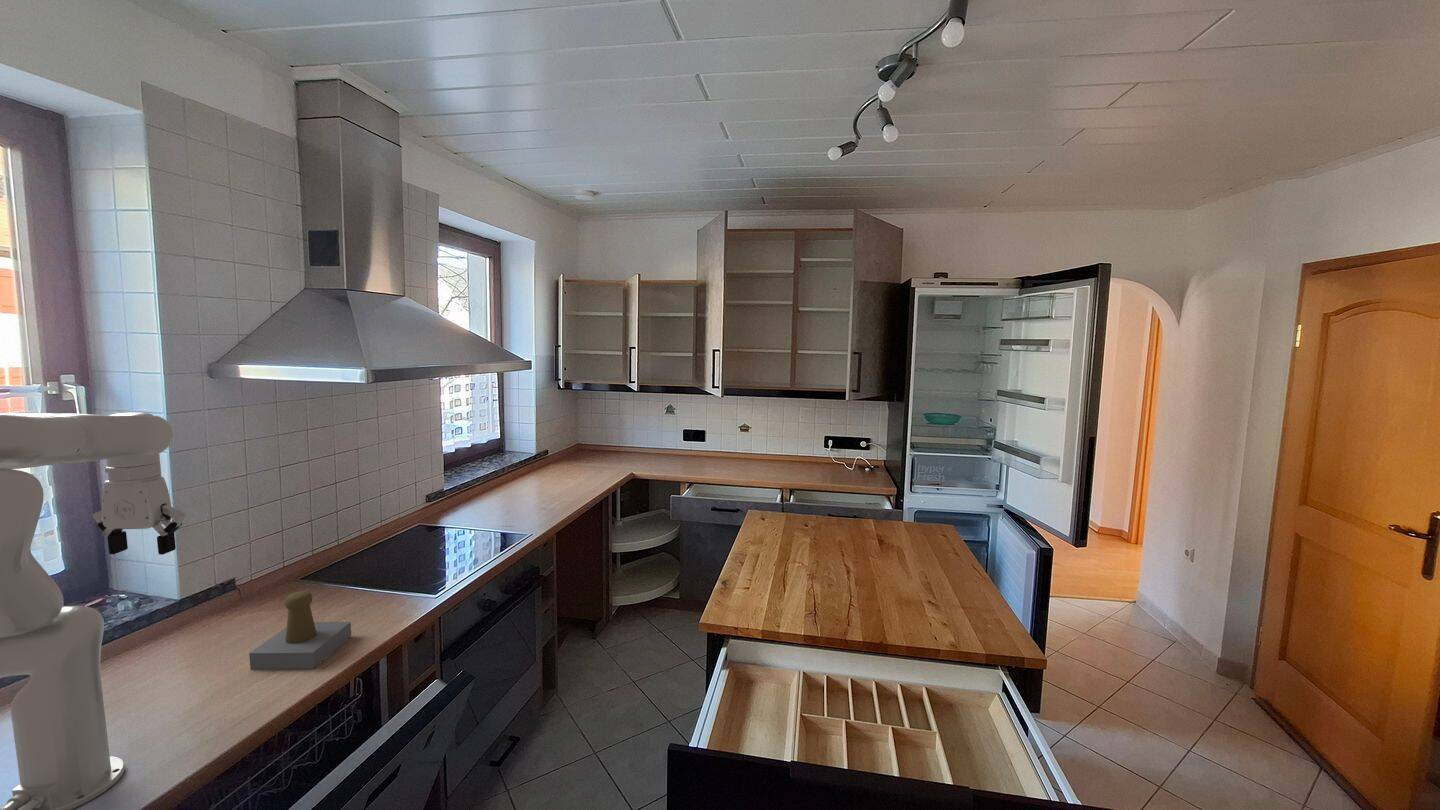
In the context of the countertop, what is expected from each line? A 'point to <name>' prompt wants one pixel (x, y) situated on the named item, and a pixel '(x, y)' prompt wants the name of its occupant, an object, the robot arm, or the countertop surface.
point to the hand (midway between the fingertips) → (143, 552)
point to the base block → (300, 648)
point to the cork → (299, 618)
